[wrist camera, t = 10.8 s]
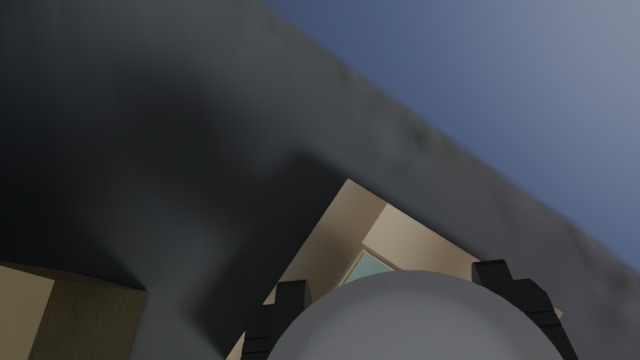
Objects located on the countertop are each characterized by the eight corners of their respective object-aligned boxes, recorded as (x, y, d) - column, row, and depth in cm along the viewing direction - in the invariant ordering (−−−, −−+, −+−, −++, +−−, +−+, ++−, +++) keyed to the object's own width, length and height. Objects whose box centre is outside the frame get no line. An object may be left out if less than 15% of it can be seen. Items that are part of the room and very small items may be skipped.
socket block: (234, 373, 26) (211, 380, 23) (353, 195, 28) (348, 178, 24) (420, 515, 24) (425, 547, 21) (539, 314, 25) (563, 312, 22)
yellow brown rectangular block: (47, 353, 28) (-86, 365, 20) (74, 272, 28) (-43, 254, 21) (121, 375, 27) (14, 396, 19) (147, 291, 28) (54, 280, 20)
